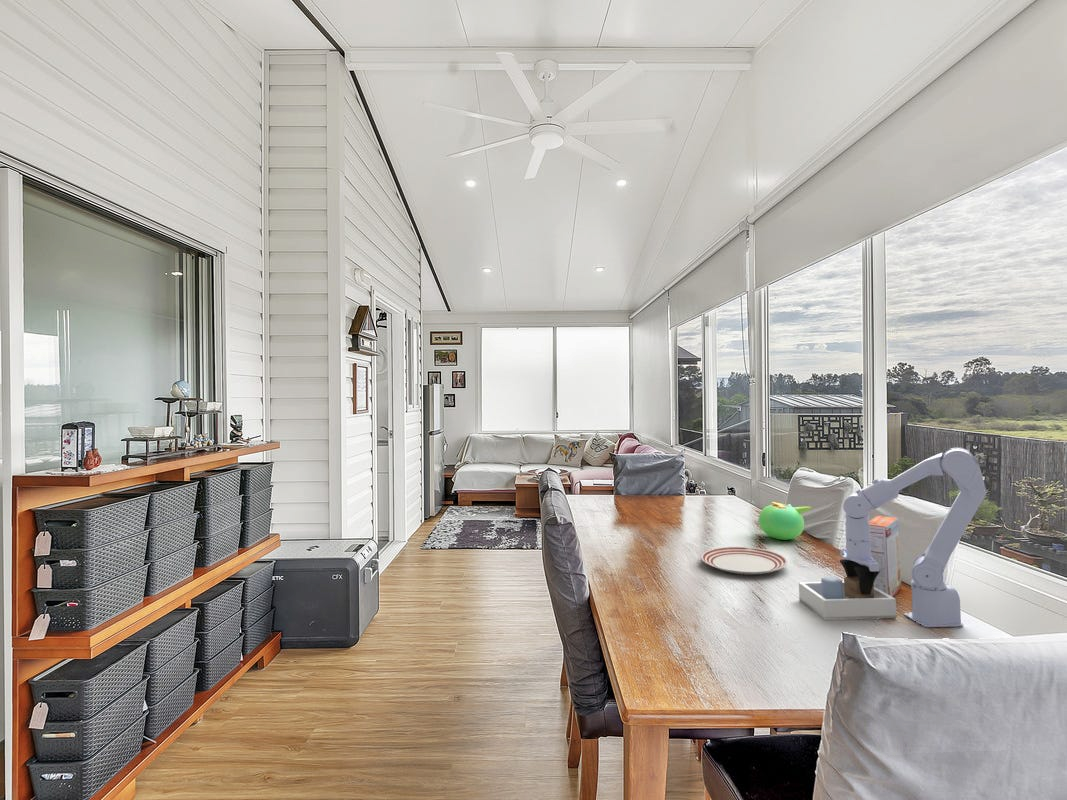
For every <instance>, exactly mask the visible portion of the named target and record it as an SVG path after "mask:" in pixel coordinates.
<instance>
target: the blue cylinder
mask: <svg viewBox="0 0 1067 800" xmlns="http://www.w3.org/2000/svg"><path fill="white" fill-rule="evenodd" d="M820 580H821V581H820V582H821V586H822V597H824V598H825V599H843V582H842V581H843V580H842V579H840V578H836V577H831V576H829V577H828V576H826V577H825V576H823V577H822V578H821V579H820Z"/></svg>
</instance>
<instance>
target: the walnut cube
mask: <svg viewBox="0 0 1067 800" xmlns="http://www.w3.org/2000/svg"><path fill="white" fill-rule="evenodd" d="M843 581H844V589H845V596H847V597H848V598H850V599H855V598H874V583H873V587H872V591H871V594H862V593H861V590H860V584H859V579H858V577H847V576H844V577H843Z"/></svg>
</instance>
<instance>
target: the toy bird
mask: <svg viewBox="0 0 1067 800" xmlns="http://www.w3.org/2000/svg"><path fill="white" fill-rule="evenodd" d="M811 509H812V507H811V506H797V507H793V506H792V504H790V503H788V504H784V503H779V502H775V501H771V504H769V505H767V506H765V507H763V508H762V510H761V511H760V513H759V514H758V525H759V527H760V529H761V530H762V531H763V533H765V534H766V535H767V536H769V537H771V538H774V539H776V540H783V541H784V540H785V541H788V540H792V539H793V540H794V539H796V538H797V537H799V536H800V535H801V534H802V532H803V531H804V529H805V519H804V517H803V515H802V514H803V513H805V512H807V511H809V510H811Z"/></svg>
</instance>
